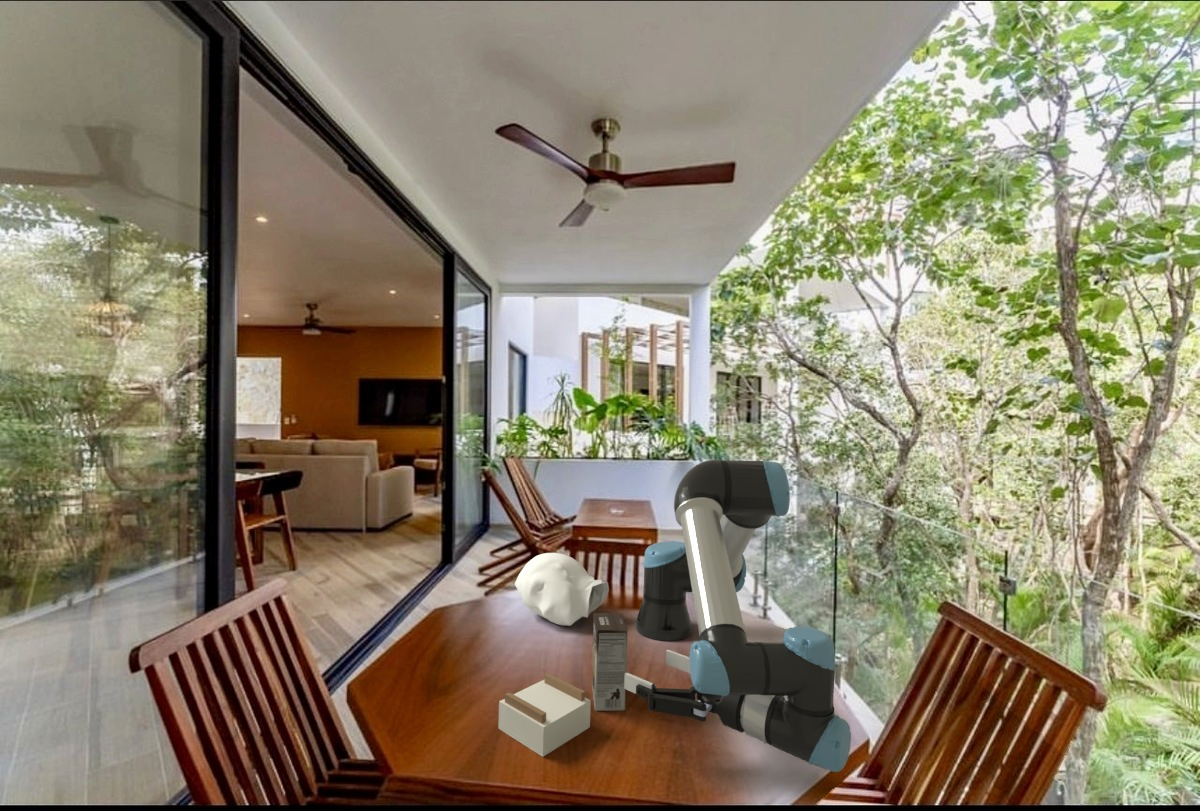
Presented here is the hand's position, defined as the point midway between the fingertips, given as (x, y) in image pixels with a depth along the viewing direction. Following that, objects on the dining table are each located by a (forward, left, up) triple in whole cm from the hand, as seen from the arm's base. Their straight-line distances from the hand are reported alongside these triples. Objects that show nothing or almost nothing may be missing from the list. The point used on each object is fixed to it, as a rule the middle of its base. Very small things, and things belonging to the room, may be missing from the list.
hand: (647, 667), depth 105 cm
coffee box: (0, -10, -10) cm, 14 cm away
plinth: (+16, -12, -9) cm, 22 cm away
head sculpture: (-24, -49, -10) cm, 55 cm away
